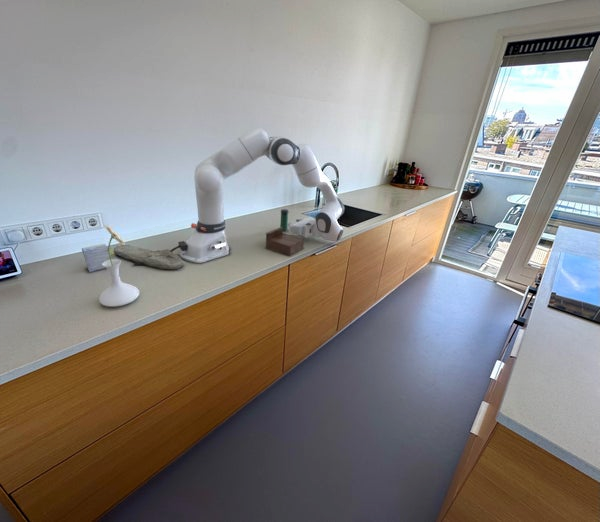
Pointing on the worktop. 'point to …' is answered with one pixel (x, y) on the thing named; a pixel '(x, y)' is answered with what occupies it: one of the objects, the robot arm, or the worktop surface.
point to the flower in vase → (116, 280)
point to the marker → (284, 219)
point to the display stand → (283, 242)
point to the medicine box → (95, 256)
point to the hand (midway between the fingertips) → (292, 222)
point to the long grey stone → (150, 256)
